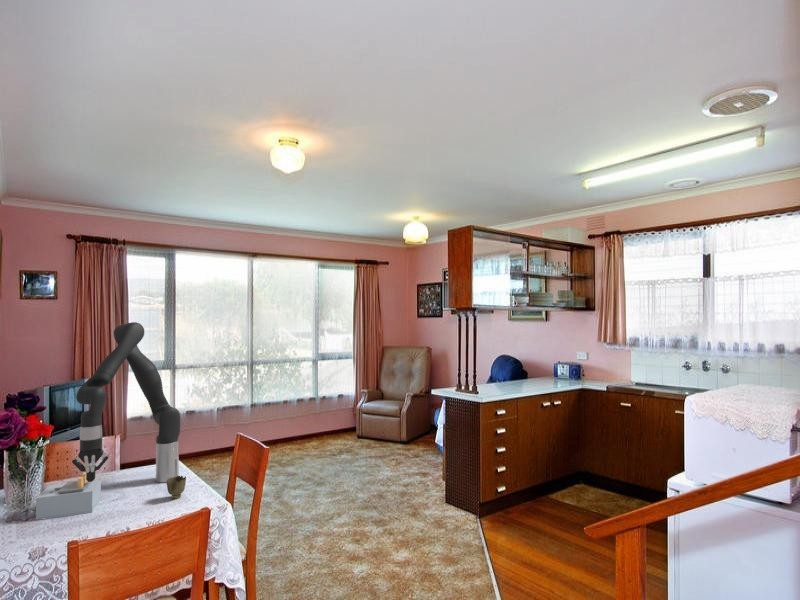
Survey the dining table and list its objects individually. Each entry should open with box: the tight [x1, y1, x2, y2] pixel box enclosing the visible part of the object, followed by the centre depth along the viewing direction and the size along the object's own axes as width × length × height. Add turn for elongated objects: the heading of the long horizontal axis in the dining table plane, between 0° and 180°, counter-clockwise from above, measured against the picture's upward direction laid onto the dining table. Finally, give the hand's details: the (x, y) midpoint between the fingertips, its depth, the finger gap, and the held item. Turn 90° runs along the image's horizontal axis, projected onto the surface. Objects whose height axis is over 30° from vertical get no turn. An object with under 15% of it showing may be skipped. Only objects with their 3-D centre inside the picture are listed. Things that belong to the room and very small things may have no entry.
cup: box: [166, 475, 187, 500], centre depth 198 cm, size 8×7×8 cm
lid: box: [58, 472, 90, 494], centre depth 189 cm, size 8×12×4 cm, turn 20°
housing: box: [35, 479, 102, 521], centre depth 188 cm, size 18×14×8 cm
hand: (90, 481), depth 191 cm, fingers closed
